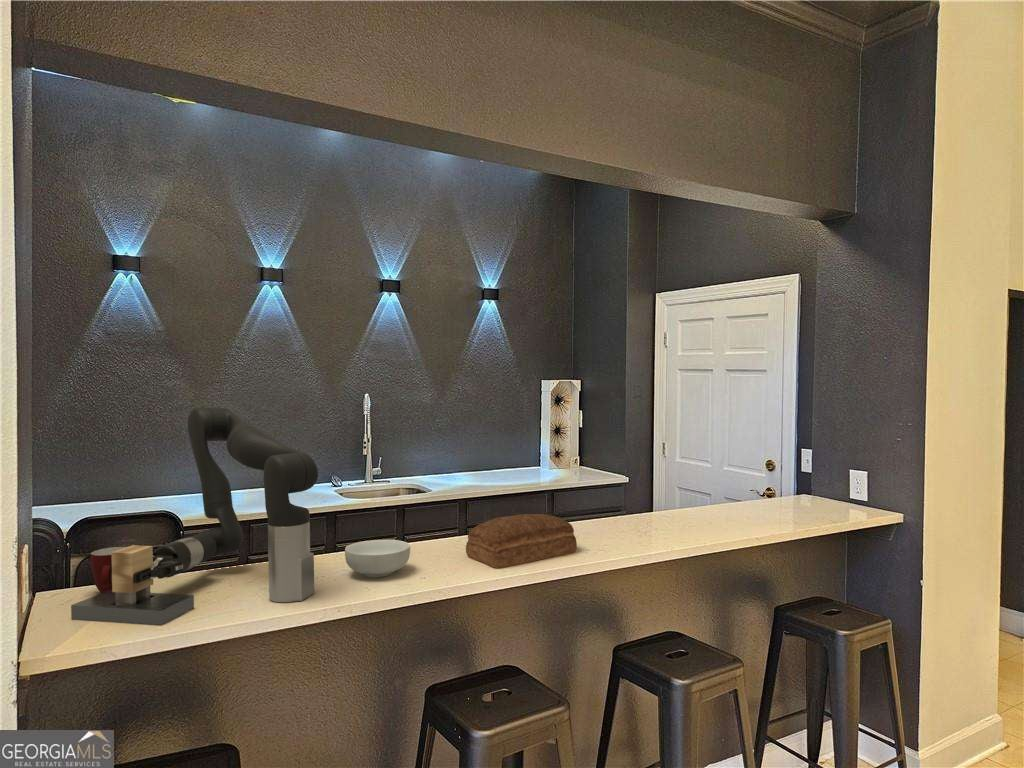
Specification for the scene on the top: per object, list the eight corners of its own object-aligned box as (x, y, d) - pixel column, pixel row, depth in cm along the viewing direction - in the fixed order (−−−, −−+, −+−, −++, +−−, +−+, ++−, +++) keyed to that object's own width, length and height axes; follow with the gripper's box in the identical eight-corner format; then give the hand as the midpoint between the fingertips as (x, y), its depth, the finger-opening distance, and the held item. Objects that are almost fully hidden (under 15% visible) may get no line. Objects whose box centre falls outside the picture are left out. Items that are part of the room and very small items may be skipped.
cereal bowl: (420, 575, 169) (420, 548, 168) (357, 587, 160) (356, 558, 160) (396, 560, 183) (396, 535, 183) (337, 570, 175) (336, 543, 175)
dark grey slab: (193, 608, 146) (193, 595, 146) (161, 625, 136) (161, 610, 136) (108, 603, 150) (108, 590, 150) (71, 619, 141) (71, 605, 141)
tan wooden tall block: (153, 604, 146) (152, 546, 146) (133, 614, 140) (131, 553, 140) (134, 603, 147) (132, 545, 147) (112, 612, 141) (111, 552, 141)
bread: (462, 557, 186) (462, 517, 186) (545, 541, 203) (544, 504, 203) (495, 571, 172) (494, 527, 172) (581, 553, 189) (580, 513, 189)
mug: (129, 597, 154) (128, 555, 154) (88, 603, 151) (87, 559, 151) (131, 585, 164) (130, 545, 164) (92, 590, 160) (92, 549, 160)
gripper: (152, 539, 159) (94, 559, 142) (204, 542, 156) (152, 562, 139) (152, 570, 159) (95, 593, 142) (205, 573, 156) (153, 597, 139)
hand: (123, 578), depth 141 cm, fingers closed on tan wooden tall block, 5 cm apart
